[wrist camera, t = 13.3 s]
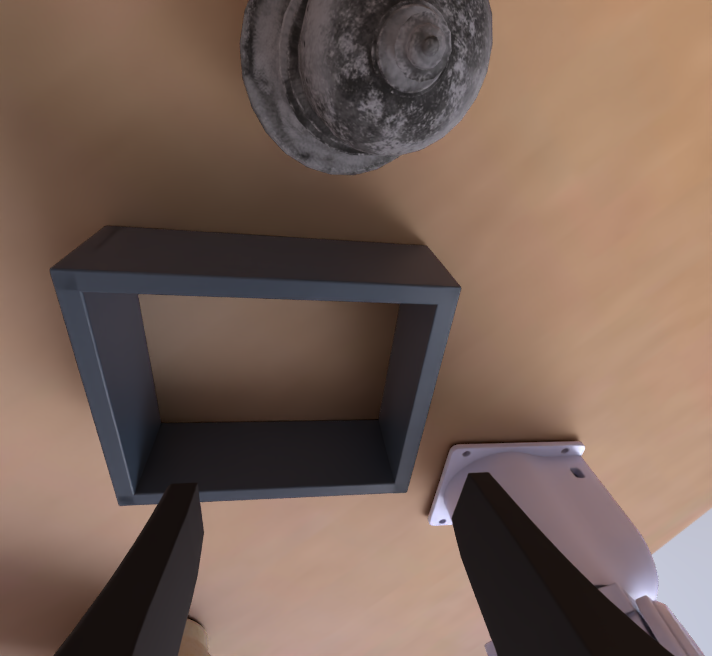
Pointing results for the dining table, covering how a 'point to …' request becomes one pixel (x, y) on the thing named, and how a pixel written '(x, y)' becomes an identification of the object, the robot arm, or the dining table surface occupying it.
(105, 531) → the dining table surface
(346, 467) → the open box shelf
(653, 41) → the dining table surface
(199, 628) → the planter bowl
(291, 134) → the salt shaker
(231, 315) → the dining table surface
